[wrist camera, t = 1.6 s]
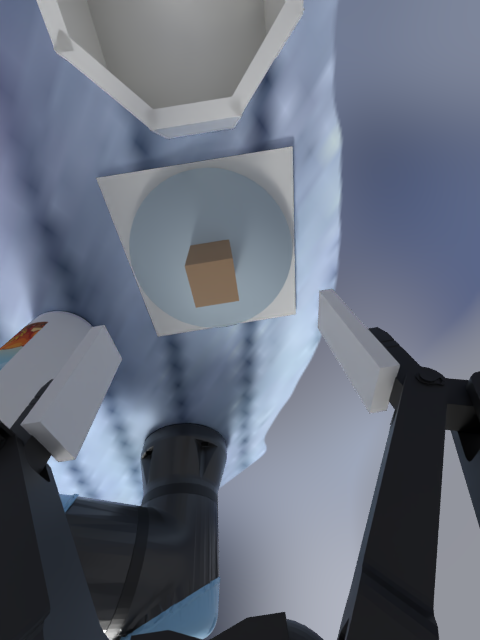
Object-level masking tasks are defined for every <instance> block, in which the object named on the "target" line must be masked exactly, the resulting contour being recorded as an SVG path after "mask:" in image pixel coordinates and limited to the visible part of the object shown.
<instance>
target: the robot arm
mask: <svg viewBox="0 0 480 640" xmlns="http://www.w3.org/2000/svg"><path fill="white" fill-rule="evenodd" d="M318 329H319V331H320V332H321V334H322V336H323V337H324V339H325V341H326V342H327V344H328V346H329V347H330V349H331V351H332V352H333V354H334V355H335V357H336V359H337V361H338V362H339V364H340V366H341V367H342V369H343V370H344V372H345V374H346V375H347V377H348V379H349V380H350V382H351V384H352V385H353V387H354V389H355V390H356V392H357V394H358V395H359V397H360V398H361V400H362V402H363V403H364V405H365V407H366V408H367V410H368V412H369V413H375V412H381V411H387V408H388V404H389V402H390V403H391V405H392V406H393V407H394V409H395V411H394V414H393V417H392V420H391V423H390V425H391V426H390V431H389V435H388V439H387V443H386V447H385V451H384V455H383V459H382V463H381V467H380V472H379V475H378V479H377V484H376V488H375V491H374V496H373V500H372V504H371V508H370V512H369V516H368V520H367V524H366V528H365V532H364V536H363V540H362V544H361V548H360V553H359V557H358V561H357V565H356V569H355V573H354V577H353V581H352V585H351V589H350V593H349V596H348V600H347V603H346V607H345V610H344V614H343V618H342V622H341V626H340V630H339V634H338V638H337V640H439V634H438V626H437V623H436V620H435V617H434V611H433V605H434V588H435V573H436V558H437V544H438V529H439V514H440V499H441V485H442V469H443V455H444V440H445V430H451V433H452V436H453V439H454V443H455V446H456V450H457V453H458V456H459V460H460V463H461V466H462V470H463V473H464V476H465V480H466V483H467V487H468V490H469V493H470V497H471V500H472V503H473V507H474V510H475V514H476V517H477V520H478V523H479V527H480V372H476V373H474V374H473V375H472V376H471V377H470V380H459V379H448V378H445V377H444V376H443V375H442V374H440V373H439V372H437V371H435V370H433V369H430V368H426V367H421V366H420V365H419V364H418V363H417V362H416V361H415V360H414V359H413V358H412V357H411V356H410V355H409V354H408V353H407V352H406V351H405V350H404V349H403V348H402V347H400V346H399V344H398V343H397V342H396V341H394V339H393V338H392V337H391V336H390V335H389V334H388V333H387V332H385V331H383V330H381V329H380V328H378V327H376V328H369V329H368V328H367V327H366V326H365V325H364V324H363V323H362V322H361V321H360V320H359V318H358V317H357V316H356V315H355V314H354V313H353V312H352V311H351V310H350V308H349V307H348V306H347V305H346V304H345V303H344V302H343V301H342V299H341V298H340V297H339V296H338V295H337V294H336V293H335V292H334V291H333V289H328V290H322V291H319V311H318ZM121 361H122V357H121V355H120V353H119V352H118V350H117V348H116V346H115V344H114V342H113V340H112V338H111V336H110V334H109V333H108V331H107V329H106V327H105V325H101V326H95V327H92V328H91V329H90V330H89V332H88V333H87V334H86V336H85V337H84V339H83V340H82V341H81V343H80V344H79V345H78V347H77V348H76V349H75V351H74V352H73V354H72V355H71V356H70V358H69V359H68V360H67V362H66V363H65V364H64V366H63V367H62V369H61V370H60V371H59V373H58V374H57V375H56V377H55V378H54V379H51V380H50V381H49V382H47V383H46V384H45V385H44V386H43V387H41V389H40V390H39V391H38V392H37V394H36V395H35V396H34V398H33V399H32V400H31V402H30V403H29V406H27V407H26V408H25V410H24V411H23V412H22V413H21V415H20V416H19V417H18V419H17V420H16V421H15V423H14V424H13V425H12V427H11V428H10V429H9V428H8V427H7V426H6V425H5V424H4V423H3V422H2V421H1V420H0V640H203V639H204V638H206V637H207V636H208V635H209V634H210V633H211V632H212V631H213V629H214V627H215V625H216V622H217V617H218V603H219V601H218V600H219V583H220V577H219V548H218V490H219V486H220V482H221V478H222V475H223V471H224V467H225V464H226V459H227V451H226V442H225V440H224V438H223V437H222V436H221V435H220V434H219V433H218V432H216V431H215V430H213V429H211V428H208V427H205V426H201V425H196V424H177V425H171V426H167V427H164V428H161V429H159V430H157V431H155V432H154V433H152V434H151V435H150V436H149V437H148V438H147V439H146V441H145V443H144V446H143V450H142V454H141V470H142V482H143V500H142V504H141V506H136V505H129V504H123V503H117V502H111V501H104V500H98V499H92V498H86V497H79V496H78V495H79V494H74V495H63V494H59V492H58V489H57V486H56V483H55V480H54V476H53V473H52V470H51V467H50V466H49V465H48V464H47V461H48V460H49V458H50V456H51V455H52V456H53V457H54V458H55V459H56V460H57V461H58V462H62V461H69V460H75V459H76V457H77V455H78V453H79V451H80V449H81V447H82V444H83V442H84V440H85V438H86V436H87V434H88V432H89V429H90V427H91V425H92V423H93V421H94V419H95V416H96V414H97V412H98V410H99V408H100V406H101V404H102V401H103V399H104V397H105V395H106V393H107V391H108V389H109V386H110V384H111V382H112V380H113V378H114V376H115V373H116V371H117V369H118V367H119V365H120V363H121ZM210 640H323V639H322V638H321V637H320V636H319V635H318V634H317V633H315V632H314V631H312V630H311V629H309V628H308V627H306V626H305V625H302V624H300V623H298V622H296V621H292V620H289V619H286V615H285V612H281V613H275V614H268V615H262V616H256V617H249V618H246V619H244V620H243V621H241V622H239V623H237V624H236V625H234V626H232V627H231V628H229V629H227V630H226V631H224V632H222V633H220V634H219V635H217V636H215V637H214V638H212V639H210Z"/></svg>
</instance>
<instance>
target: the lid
mask: <svg viewBox="0 0 480 640" xmlns="http://www.w3.org/2000/svg"><path fill="white" fill-rule="evenodd" d="M129 251H130V259H131V264H132V267H133V271H134V274H135V276H136V278H137V280H138V282H139V284H140V286H141V288H142V289H143V291H144V292H145V294H146V295H147V296H148V297H149V298H150V300H151V301H152V302H153V303H154V304H155V305H156V306H157V307H159V308H160V309H161V310H163V311H164V312H165V313H167V314H168V315H170V316H172V317H173V318H175V319H178V320H180V321H182V322H185V323H188V324H191V325H195V326H200V327H211V328H218V327H227V326H231V325H236V324H239V323H242V322H244V321H246V320H249V319H251V318H253V317H254V316H256V315H257V314H259V313H260V312H262V311H263V310H264V309H265V308H267V307H268V306H269V305H270V304H271V303H272V302H273V301H274V299H275V298H276V297H277V295H278V294H279V293H280V291H281V289H282V288H283V286H284V284H285V281H286V279H287V277H288V274H289V270H290V266H291V260H292V240H291V234H290V230H289V226H288V224H287V221H286V218H285V216H284V214H283V212H282V210H281V209H280V207H279V206H278V204H277V203H276V201H275V200H274V199H273V197H272V196H271V195H270V194H269V193H268V192H267V191H266V190H265V189H264V188H262V187H261V186H260V185H258V184H257V183H256V182H254V181H253V180H251V179H249V178H247V177H245V176H243V175H241V174H238V173H236V172H233V171H230V170H225V169H221V168H196V169H192V170H188V171H183V172H181V173H178V174H176V175H174V176H171V177H170V178H168V179H166V180H165V181H163V182H161V183H160V184H159V185H158V186H157V187H155V188H154V189H153V190H152V191H151V192H150V193H149V194H148V196H147V197H146V198H145V199H144V200H143V202H142V204H141V205H140V207H139V208H138V210H137V213H136V215H135V217H134V220H133V223H132V227H131V231H130V240H129Z"/></svg>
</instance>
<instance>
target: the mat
mask: <svg viewBox="0 0 480 640" xmlns="http://www.w3.org/2000/svg"><path fill="white" fill-rule="evenodd" d="M196 168H221V169H225V170H230V171H233V172H236V173H238V174H241V175H243V176H245V177H247V178H249V179H251V180H253V181H254V182H256V183H257V184H258V185H260V186H261V187H262V188H264V189H265V190H266V191H267V192H268V193H269V194H270V195H271V196H272V197H273V199H274V200H275V201H276V203H277V204H278V206H279V207H280V209H281V210H282V212H283V214H284V216H285V218H286V221H287V224H288V226H289V230H290V234H291V240H292V260H291V266H290V270H289V274H288V277H287V279H286V281H285V284H284V286H283V288H282V289H281V291H280V293H279V294H278V295H277V297H276V298H275V299H274V301H273V302H272V303H271V304H270V305H269V306H268V307H267V308H265V309H264V310H263V311H262V312H260V313H259V314H257V315H256V316H254V317H253V318H251V319H249V320H246V321H244V322H242V323H245V322H251V321H257V320H264V319H270V318H276V317H282V316H288V315H294V314H296V311H295V254H294V197H293V146H291V147H285V148H279V149H273V150H267V151H260V152H254V153H248V154H242V155H236V156H229V157H223V158H217V159H211V160H204V161H198V162H192V163H186V164H180V165H173V166H167V167H161V168H155V169H149V170H142V171H136V172H130V173H124V174H118V175H111V176H105V177H99V178H96V179H97V182H98V184H99V187H100V189H101V192H102V195H103V197H104V200H105V202H106V205H107V207H108V210H109V213H110V215H111V218H112V220H113V223H114V225H115V228H116V231H117V233H118V236H119V238H120V241H121V243H122V246H123V248H124V251H125V254H126V256H127V259H128V261H129V264H130V266H131V269H132V272H133V274H134V271H133V267H132V264H131V259H130V251H129V240H130V231H131V227H132V223H133V220H134V217H135V215H136V213H137V210H138V208H139V207H140V205H141V204H142V202H143V200H144V199H145V198H146V197H147V196H148V194H149V193H150V192H151V191H152V190H153V189H154V188H155V187H157V186H158V185H159V184H160V183H161V182H163V181H165V180H166V179H168V178H170V177H171V176H174V175H176V174H178V173H181V172H183V171H188V170H192V169H196ZM134 277H135V279H136V282H137V284H138V287H139V290H140V292H141V295H142V297H143V300H144V302H145V305H146V308H147V310H148V313H149V315H150V318H151V320H152V323H153V326H154V328H155V331H156V333H157V336H158V337H159V336H166V335H172V334H178V333H184V332H190V331H196V330H202V329H208V328H211V327H200V326H195V325H191V324H188V323H185V322H182V321H180V320H178V319H175V318H173V317H172V316H170V315H168V314H167V313H165V312H164V311H163V310H161V309H160V308H159V307H157V306H156V305H155V304H154V303H153V302H152V301H151V300H150V298H149V297H148V296H147V295H146V294H145V292H144V291H143V289H142V288H141V286H140V284H139V282H138V280H137V278H136V276H135V274H134Z"/></svg>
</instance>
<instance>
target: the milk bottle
mask: <svg viewBox="0 0 480 640" xmlns="http://www.w3.org/2000/svg"><path fill="white" fill-rule="evenodd" d="M91 328H92V325H91V324H90V323H88V322H87V321H86V320H85V319H83V318H81V317H80V316H77V315H75V314H72V313H69V312H63V311H52V312H47V313H43V314H41V315H39V316H38V317H36V318H35V319H34V320H32V321H31V322H30V323H29V324H28V325H27V326H25V327H24V328H23V329H22V330H21V331H20V332H18V333H17V334H16V335H15V336H14V337H13V338H12V339H10V340H9V341H8V342H7V343H6V344H5V345H4V346H2V347H1V348H0V420H1V421H2V422H3V423H4V424H5V425H6V426H7V427H8V428H9V429H10V428H11V427H12V425H13V424H14V423H15V421H16V420H17V419H18V417H19V416H20V415H21V413H22V412H23V411H24V410H25V408H26V407H27V406H29V403H30V402H31V400H32V399H33V398H34V396H35V395H36V394H37V392H38V391H39V390H40V389H41V387H43V386H44V385H45V384H46V383H47V382H49V381H50V380H51V379H54V378H55V377H56V375H57V374H58V373H59V371H60V370H61V369H62V367H63V366H64V364H65V363H66V362H67V360H68V359H69V358H70V356H71V355H72V354H73V352H74V351H75V349H76V348H77V347H78V345H79V344H80V343H81V341H82V340H83V339H84V337H85V336H86V334H87V333H88V332H89V330H90V329H91Z"/></svg>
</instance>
